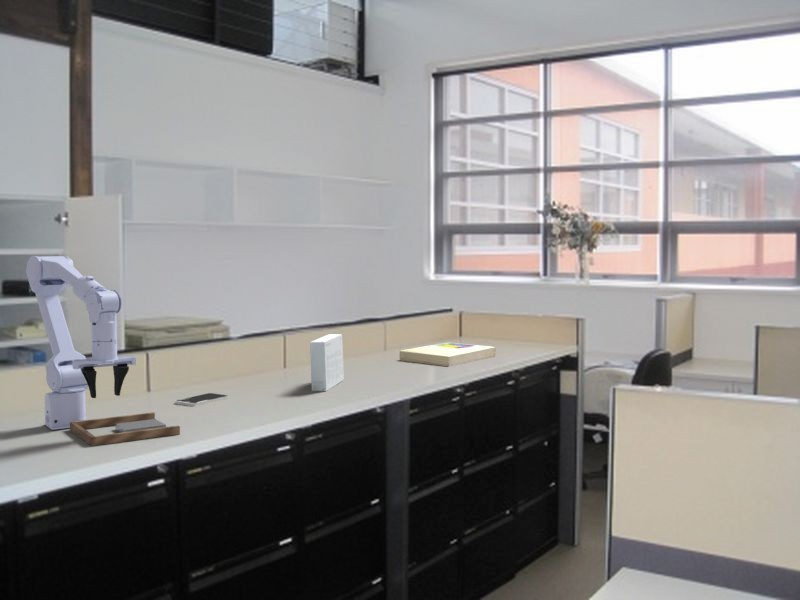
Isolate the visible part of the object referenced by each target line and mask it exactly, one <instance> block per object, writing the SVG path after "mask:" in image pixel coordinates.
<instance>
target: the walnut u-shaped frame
mask: <svg viewBox="0 0 800 600" xmlns="http://www.w3.org/2000/svg"><path fill="white" fill-rule="evenodd" d="M155 416H156V413H155V412H154V411H153V412H145V413H144V412H143V413H138V414H137V413H136V414H128V415H119V416H112V417H103V418H93V419H86V420H83V421H74V422H70V428H69V430H70V431H71V432H72V433H73V434H75V435H76V436H77V437H78V438H80V439H81V440H83V441H84V442H86V443H87V444H88V445H90V446H91V447H94V446H95V447H96V446H102V445H110V444H117V443H125V442H132V441H133V442H134V441H140V439H141V440H146V438H148V439H153V438H154V437H155V438H162V437H169V436H170V437H171V436H176V435H178V436H179V435H181V433H180V432H181V426H180V425H179V424H178V425H171V426H166V427H162V428H154V429H146V430H138V431H131V432H123V433H120V432H117V433H107V434H102V435H94V434H92V433H91V432H90V431H88V430H89V429H97V428H104V427H113V426H115V424H118V423H126V422H134V421H142V420H150V419H156V417H155ZM87 429H88V430H87ZM155 438H154V439H155Z"/></svg>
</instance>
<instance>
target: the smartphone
mask: <svg viewBox="0 0 800 600" xmlns="http://www.w3.org/2000/svg"><path fill="white" fill-rule="evenodd" d="M228 397H229V396H228V395H226V394H219V393H213V392H210V393H204V394H200V395H195V396H190V397H186V398H185V397H184V398H180V399H175V400H174V403H175V405H181V406H188V407H198V406H202V405H205V404H206V405H207V404H210V403H214V402H217V401H218V402H219V401H221V400H226V399H228Z"/></svg>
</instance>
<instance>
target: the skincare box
mask: <svg viewBox="0 0 800 600" xmlns="http://www.w3.org/2000/svg"><path fill="white" fill-rule="evenodd" d="M309 343H310V347H309V348H310V352H309V353H310V354H309V355H310V377H311V378H310V381H311V383H310V384H311V391H312V392H327V391H329V390H331V389H333V388H334V387H335V386H337V385H338V384H340V383H341V382H343V381H345V375H344V351H343V350H344V345H343V334H342V333H341V334H340V333H339V334H338V333H336V334H335V333H332V334H331V333H329V334H326V335H324V336H321V337H319V338H317V339H314V340H312V341H310V342H309Z"/></svg>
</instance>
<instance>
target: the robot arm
mask: <svg viewBox="0 0 800 600" xmlns="http://www.w3.org/2000/svg"><path fill="white" fill-rule="evenodd" d="M25 274H26V276H27V280H28V283H29V287H30V290H31V291H32V292H33V293H34V294H35V297H36V301H37V303H38V308H39V311H40V314H41V318H42V321H43V324H44V328H45V332H46V335H47V338H48V344H49V345H50V349H51V352H52V357H51V358H50V359H49V360H48V361H47V362H46V364H45V372H46V383H47V387H48V388H49V389H51V391H52V392H46V393H45V395H44V425H46V426H47V428H49V429H50V430H52V431H55V430H63V429H70V422H74V421H83V420H87V417H86V416H87V414H86V413H87V412H86V408H87V407H86V390H89V394H90V398H92V399H97V387H96V386H97V385H96V384H97V381H96V380H97V371H96V369H95V368H105V367H112V369H113V378H114V379H113V380H114V381H113V382H114V384H113V385H114V386H113V391H114V395H115V396H116V397H117V396H118V397H120V396H121V390H122V386H123V384H124V381H125V379H126V375H127V374H128V372H129V369H130V365H132V366H135V365H137V357H136V356H134V355H129V356H128V355H127V356H126V355H125V356H122V355H121V356H118V327H117V326H118V325H117V322H118V321H117V320H118V317H117V316H118V315H117V314H119V312H120V311H121V310H122V304H123V303H122V297H121V294H120V293H119V292H118V291H117V290H116V289H107V288H106V287H105V286H103V285H102V284H100V283H99V282H98V281H96V280H95V277H94V276H92V275H82V274H81V273H80V271H78V269H76V267H74V260H73V259H71V258H70V257H69V256H67V255H61V256H60V255H57V256H56V255H55V256H53V255H52V256H49V255H46V256H37V255H31V257H30V258H29V259H28V261H27V263H26V269H25ZM67 285H69V286H71V287H72V291H73V294H74V296H75V297H77V298H79V300H81V301H82V302H83V303H84V304H85V307H86V310H87V313H88V320H89V322H90V323H91V356H92V357H91V358H90V357H89V358H86V357H87V356H85V355H84V354H82V353H80V352H78V351H77V350H75V347H74V343H73V341H72V337H71V333H70V330H69V328H68V324H67V321H66V317H65V313H64V309H63V306H62V303H61V300H60V297H59V294H60V292H63V291H65V289H66V287H67ZM128 365H129V366H128Z"/></svg>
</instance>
